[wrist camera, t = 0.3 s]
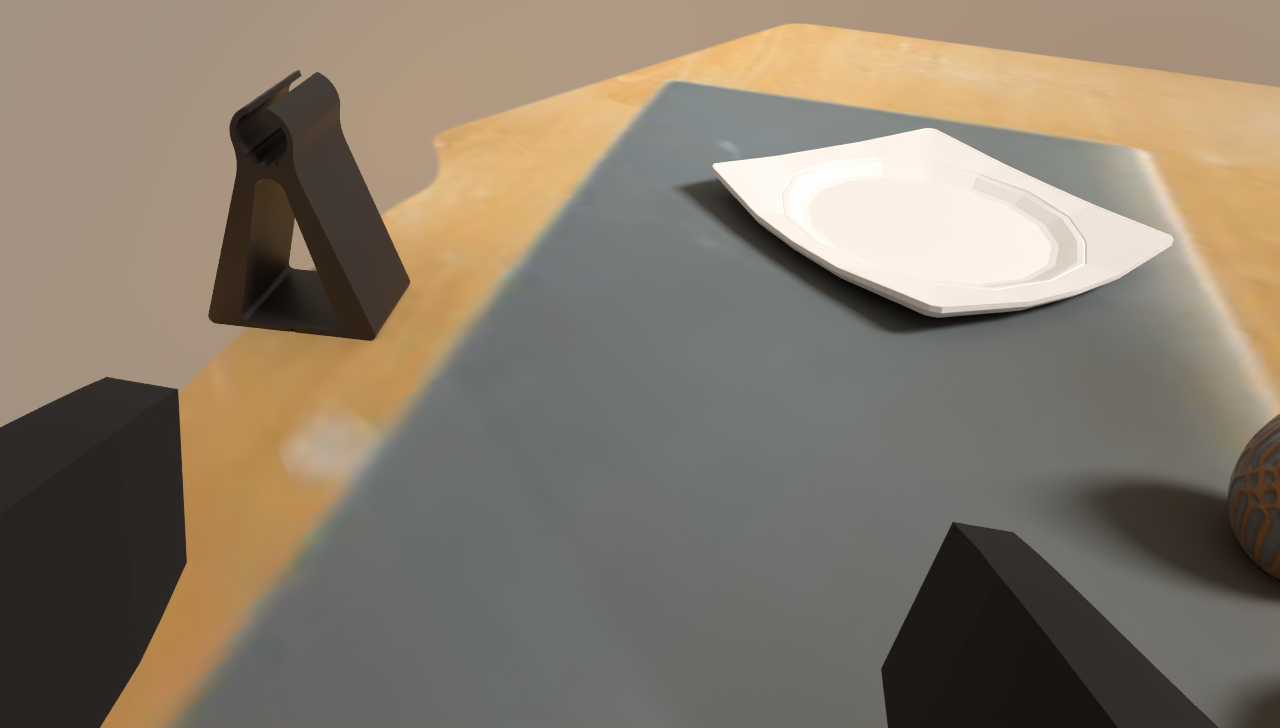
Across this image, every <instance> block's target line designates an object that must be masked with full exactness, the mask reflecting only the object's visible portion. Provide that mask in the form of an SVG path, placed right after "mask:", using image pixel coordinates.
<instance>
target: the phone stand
mask: <svg viewBox="0 0 1280 728" xmlns="http://www.w3.org/2000/svg"><path fill="white" fill-rule="evenodd" d="M300 76H301V73H300V71H299V70H298V71H295V72H294V73H292V74H291V75H289V76H288V77H286V78H285V79H284V80H282V81H281V82H279V83H278V84H276V85H275V86H274V87H272V88H270V89H269V90H267V91H266V92H265V93H263V94H262V95H260V96H259V97H257V98H256V99H254V100H253V101H252V102H250V103H249V104H247V105H246V106H244V107H243V108H241V109H240V110H239V111H237V112H236V113H235V114H234V116H233V118H232V120H231V123H230V137H231V141H232V143H233V146H234V150H235V153H236V159H237V173H236V179H235V184H234V189H233V194H232V199H231V204H230V209H229V214H228V219H227V224H226V229H225V234H224V239H223V244H222V249H221V255H220V259H219V264H218V269H217V274H216V279H215V284H214V290H213V295H212V300H211V305H210V310H209V315H208V316H209V319H210V320H211V321H212V322H214V323H217V324H226V325H235V326H244V327H253V328H262V329H271V330H280V331H288V332H289V331H290V330H291V329H294V330H295V331H296V332H297V333H306V334H315V335H324V336H333V337H342V338H351V339H359V340H368V341H371V340H374V339H375V337H376V335H377V334H378V332H379V331H380V329H381V328H382V326H383V325H384V323H385V322H386V320H387V318H388V317H389V315H390V314H391V312H392V311H393V309H394V308H395V306H396V305H397V303H398V301H399V300H400V298H401V297H402V295H403V294H404V292H405V291H406V289H407V288H408V286H409V284H410V280H409V277H408V275H407V273H406V271H405V269H404V266H403V264H402V262H401V260H400V258H399V256H398V253H397V251H396V249H395V247H394V245H393V242H392V240H391V238H390V236H389V234H388V232H387V229H386V227H385V225H384V223H383V221H382V218H381V216H380V214H379V212H378V210H377V208H376V205H375V203H374V201H373V199H372V197H371V195H370V192H369V190H368V188H367V186H366V184H365V182H364V180H363V177H362V175H361V173H360V171H359V168H358V166H357V164H356V162H355V160H354V157H353V155H352V153H351V151H350V149H349V147H348V144H347V142H346V140H345V138H344V135H343V132H342V129H341V124H340V100H339V96H338V93H337V91H336V89H335V87H334V86H333V84H332V83H331V82H330V81H329V80H328V79H327V78H326V77H325V76H323V75H322V74H320V73H318V72H316V73H315V74H313V75H312V76H311V77H309V78H308V79H307V80H305V81H304V82H302V83H301V84H300V85H299V86H297V87H296V88H294V89H293V90H292V91H290V92H289V87H290V85H291V83H292V82H293V81H295V80H296V79H298V78H299V77H300ZM295 218H296V221H297V223H298V225H299V228H300V230H301V233H302V235H303V238H304V240H305V242H306V245H307V247H308V250H309V252H310V255H311V257H312V259H313V262H314V264H315V267H316V269H317V271H318V272H317V271H308V270H298V269H293V268H291V267H290V266H289V257H290V249H291V242H292V235H293V227H294V220H295Z"/></svg>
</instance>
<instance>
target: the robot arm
mask: <svg viewBox="0 0 1280 728" xmlns="http://www.w3.org/2000/svg"><path fill="white" fill-rule="evenodd" d="M186 563H187V557H186V537H185V518H184V498H183V478H182V458H181V439H180V419H179V399H178V389H173V388H167V387H162V386H156V385H150V384H144V383H138V382H132V381H126V380H121V379H114V378H109V377H106V378H104V379H101V380H99V381H97V382H94V383H92V384H90V385H87V386H85V387H83V388H81V389H78V390H76V391H74V392H72V393H70V394H68V395H65V396H63V397H61V398H59V399H57V400H55V401H53V402H51V403H49V404H47V405H45V406H43V407H41V408H39V409H37V410H35V411H33V412H30V413H29V414H26V415H25V416H22V417H20V418H18V419H17V420H14V421H12V422H10V423H9V424H6V425H4V426H2V427H0V728H100V727H101V725H102V723H103V722H104V720H105V718H106V717H107V715H108V714H109V712H110V710H111V709H112V707H113V706H114V704H115V702H116V701H117V699H118V698H119V696H120V694H121V693H122V691H123V690H124V688H125V686H126V685H127V683H128V681H129V680H130V678H131V677H132V675H133V673H134V672H135V670H136V668H137V667H138V665H139V663H140V661H141V659H142V657H143V655H144V653H145V651H146V649H147V647H148V645H149V643H150V641H151V639H152V637H153V635H154V632H155V630H156V628H157V626H158V624H159V622H160V620H161V618H162V616H163V614H164V611H165V609H166V607H167V605H168V603H169V600H170V598H171V596H172V594H173V591H174V589H175V587H176V585H177V583H178V580H179V578H180V576H181V574H182V571H183V569H184V567H185V565H186ZM881 671H882V679H883V688H884V697H885V705H886V714H887V723H888V728H1219V727H1217V726H1216V725H1215V724H1214V723H1213V722H1212V721H1211V720H1210V719H1209V718H1208V717H1207V716H1206V715H1205V714H1204V713H1203V712H1202V711H1201V710H1200V709H1198V708H1197V707H1196V706H1195V705H1194V704H1193V703H1192V702H1191V701H1190V700H1189V699H1188V698H1187V697H1186V696H1185V695H1184V694H1183V693H1182V692H1181V691H1180V690H1179V689H1178V688H1177V687H1176V686H1175V685H1173V684H1172V683H1171V682H1170V681H1169V680H1168V679H1167V678H1166V677H1165V676H1164V675H1163V674H1162V673H1161V672H1160V671H1159V670H1158V669H1157V668H1156V667H1155V666H1154V665H1153V664H1152V663H1151V662H1150V661H1149V660H1148V659H1147V658H1146V657H1145V656H1144V655H1143V654H1142V653H1141V652H1140V651H1138V650H1137V649H1136V648H1135V647H1134V646H1133V645H1132V644H1131V643H1130V642H1129V641H1128V640H1127V639H1126V638H1125V637H1124V636H1123V635H1122V634H1121V633H1120V632H1119V631H1118V630H1117V629H1116V628H1115V627H1114V626H1113V625H1112V624H1111V623H1110V622H1109V621H1108V620H1107V619H1106V618H1105V617H1104V616H1103V615H1102V614H1101V613H1100V612H1099V611H1098V610H1097V609H1096V608H1095V607H1094V606H1093V605H1092V604H1090V603H1089V602H1088V601H1087V600H1086V599H1085V598H1084V597H1083V596H1082V595H1081V594H1080V593H1079V592H1078V591H1077V590H1076V589H1075V588H1074V587H1073V586H1072V585H1071V584H1070V583H1069V582H1068V581H1067V580H1066V579H1065V578H1064V577H1062V576H1061V575H1060V574H1059V573H1058V572H1057V571H1056V570H1055V569H1054V568H1053V567H1052V566H1051V565H1050V564H1049V563H1048V562H1047V561H1045V560H1044V559H1043V558H1042V557H1041V556H1040V555H1039V554H1038V553H1037V552H1036V551H1034V550H1033V549H1032V548H1031V547H1030V546H1029V545H1028V544H1026V543H1025V542H1024V541H1023V540H1022V539H1020V538H1019V537H1018V536H1017V535H1016V534H1014V533H1013V532H1008V531H1002V530H996V529H990V528H985V527H979V526H973V525H967V524H961V523H955V522H953V523H952V525H951V527H950V529H949V531H948V533H947V535H946V537H945V539H944V541H943V543H942V545H941V548H940V550H939V552H938V554H937V556H936V558H935V560H934V562H933V564H932V566H931V568H930V570H929V572H928V574H927V576H926V578H925V580H924V582H923V584H922V586H921V588H920V591H919V593H918V595H917V597H916V599H915V601H914V603H913V605H912V607H911V609H910V611H909V613H908V615H907V617H906V619H905V621H904V623H903V625H902V627H901V629H900V631H899V634H898V636H897V638H896V640H895V642H894V644H893V646H892V648H891V650H890V652H889V654H888V656H887V658H886V660H885V662H884V664H883V666H882V668H881Z"/></svg>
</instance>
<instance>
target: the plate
mask: <svg viewBox="0 0 1280 728" xmlns="http://www.w3.org/2000/svg"><path fill="white" fill-rule="evenodd" d="M712 173H713V174H714V175H715V176H716V177H717V178H718V179H719V180H720V181H721V182H722V184H723V185H724V186H725V187H726V188H727V189H728V190H729V191H730V192H731V193H732V195H733V196H734V197H735V198H736V199H737V200H738V201H739V202H740V203H741V204H742V205H743V207H744V208H745V209H746V210H747V211H748V212H749V213H750V214H751V215H752V216H753V217H754V219H755V220H756V221H757V222H758V223H759V224H760V225H762V226H763V227H764V228H766V229H767V230H768V231H770V232H771V233H773V234H774V235H775V236H777V237H778V238H779V239H781V240H782V241H783V242H785V243H786V244H788V245H789V246H790V247H792V248H793V249H794V250H796V251H798V252H799V253H801V254H802V255H804V256H806V257H807V258H809V259H811V260H812V261H814V262H815V263H817V264H819V265H820V266H822V267H823V268H825V269H827V270H828V271H830V272H832V273H833V274H835V275H836V276H838V277H840V278H842V279H844V280H846V281H849V282H851V283H853V284H855V285H858V286H860V287H862V288H865V289H867V290H869V291H871V292H874V293H876V294H878V295H880V296H883V297H885V298H887V299H889V300H892V301H894V302H896V303H899V304H901V305H903V306H905V307H908V308H910V309H912V310H914V311H917V312H919V313H921V314H923V315H927V316H932V317H937V318H939V317H950V316H962V315H974V314H985V313H997V312H1009V311H1020V310H1024V309H1028V308H1031V307H1035V306H1039V305H1043V304H1047V303H1051V302H1055V301H1058V300H1062V299H1066V298H1070V297H1073V296H1076V295H1078V294H1081V293H1084V292H1086V291H1089V290H1091V289H1094V288H1097V287H1099V286H1102V285H1104V284H1107V283H1110V282H1112V281H1114V280H1116V279H1119V278H1120V277H1122V276H1123V275H1125V274H1127V273H1128V272H1130V271H1131V270H1133V269H1135V268H1136V267H1138V266H1139V265H1141V264H1143V263H1144V262H1146V261H1147V260H1149V259H1150V258H1152V257H1154V256H1155V255H1157V254H1158V253H1160V252H1162V251H1163V250H1165V249H1166V248H1168V247H1170V246H1171V245H1172V243H1173V238H1172V236H1171V235H1168V234H1166V233H1163V232H1161V231H1158V230H1156V229H1153V228H1151V227H1148V226H1146V225H1143V224H1141V223H1138V222H1136V221H1133V220H1131V219H1128V218H1126V217H1123V216H1121V215H1118V214H1116V213H1113V212H1111V211H1108V210H1106V209H1103V208H1101V207H1098V206H1096V205H1093V204H1091V203H1089V202H1086V201H1084V200H1082V199H1080V198H1077V197H1075V196H1073V195H1071V194H1068V193H1066V192H1064V191H1062V190H1059V189H1057V188H1055V187H1053V186H1050V185H1048V184H1046V183H1044V182H1042V181H1040V180H1037V179H1035V178H1033V177H1031V176H1029V175H1027V174H1025V173H1022V172H1020V171H1018V170H1016V169H1014V168H1012V167H1009V166H1007V165H1005V164H1003V163H1001V162H999V161H997V160H995V159H993V158H991V157H989V156H987V155H985V154H983V153H981V152H979V151H977V150H975V149H974V148H972V147H970V146H968V145H966V144H964V143H962V142H960V141H958V140H956V139H954V138H952V137H950V136H948V135H946V134H944V133H942V132H940V131H938V130H936V129H931V128H925V129H920V130H915V131H910V132H906V133H901V134H896V135H891V136H886V137H881V138H877V139H872V140H867V141H862V142H857V143H851V144H845V145H839V146H833V147H827V148H821V149H815V150H809V151H803V152H797V153H791V154H785V155H779V156H773V157H764V158H756V159H748V160H739V161H731V162H723V163H714V165H713V167H712Z"/></svg>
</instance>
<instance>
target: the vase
mask: <svg viewBox="0 0 1280 728" xmlns="http://www.w3.org/2000/svg"><path fill="white" fill-rule="evenodd" d="M1227 504H1228V516H1229V520H1230V523H1231V526H1232V529H1233V532H1234V534H1235V536H1236V538H1237V539H1238V541H1239V543H1240V544H1241V546H1242V548H1243V549H1244V551H1245V552H1246V553H1247V555H1248V556H1249V557H1250V558H1251V559H1252V560H1253V561H1254V562H1255V563H1256V564H1257V565H1258V566H1259V567H1260V568H1262V569H1263V570H1264V571H1266V572H1267V573H1269V574H1270V575H1272V576H1273V577H1275V578H1277V579H1279V580H1280V414H1279V415H1277V416H1276V417H1275V418H1273V419H1272V420H1271V421H1269V422H1268V423H1267V424H1266V425H1265V426H1264V427H1263V428H1262V429H1260V430H1259V431H1258V432H1257V433H1256V434H1255V435H1254V437H1253V438H1252V439H1251V440H1250V442H1249V443H1248V444H1247V445H1246V447H1245V449H1244V450H1243V452H1242V453H1241V455H1240V457H1239V459H1238V461H1237V464H1236V466H1235V468H1234V471H1233V473H1232V476H1231V479H1230V484H1229V489H1228V500H1227Z"/></svg>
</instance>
